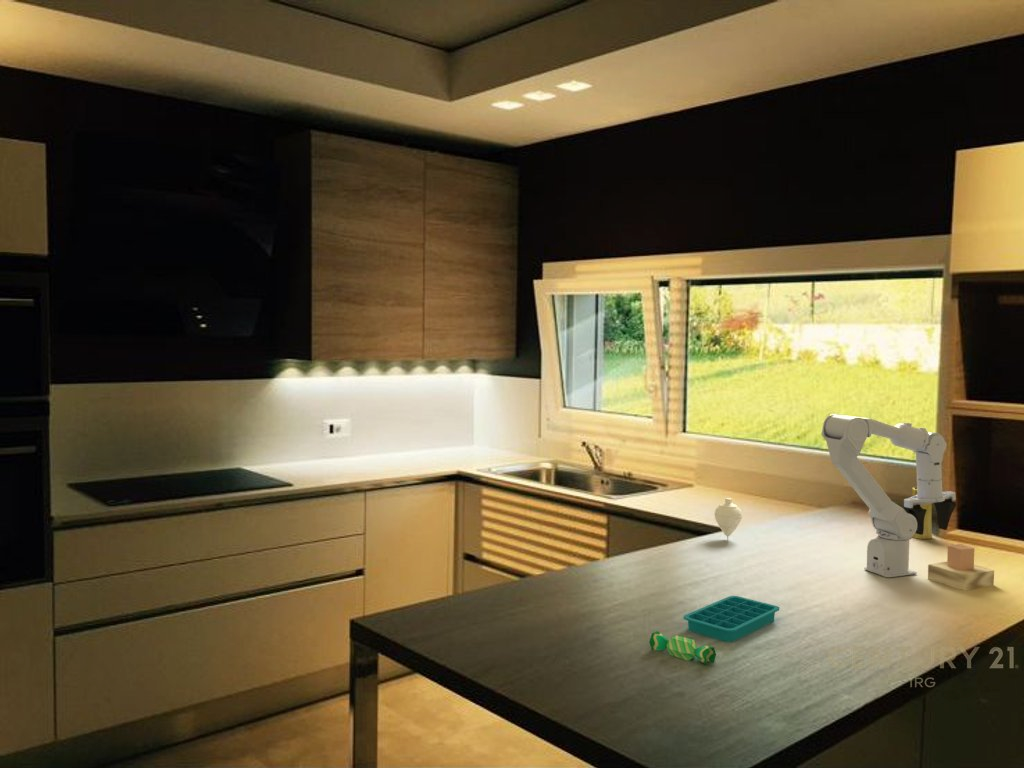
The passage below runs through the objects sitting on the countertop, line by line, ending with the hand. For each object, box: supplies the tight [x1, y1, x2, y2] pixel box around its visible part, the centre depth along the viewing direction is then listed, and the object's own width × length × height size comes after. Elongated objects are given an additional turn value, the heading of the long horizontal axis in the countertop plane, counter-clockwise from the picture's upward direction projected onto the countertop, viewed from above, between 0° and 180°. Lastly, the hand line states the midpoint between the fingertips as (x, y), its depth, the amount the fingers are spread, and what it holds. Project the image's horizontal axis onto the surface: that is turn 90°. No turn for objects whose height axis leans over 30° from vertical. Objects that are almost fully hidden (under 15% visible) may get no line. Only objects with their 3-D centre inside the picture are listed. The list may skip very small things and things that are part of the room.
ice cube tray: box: [683, 595, 780, 643], centre depth 176 cm, size 12×20×3 cm, turn 135°
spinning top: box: [714, 497, 743, 540], centre depth 246 cm, size 8×8×12 cm
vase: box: [911, 486, 933, 540], centre depth 249 cm, size 6×6×14 cm
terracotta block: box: [946, 543, 975, 570], centre depth 206 cm, size 4×4×5 cm
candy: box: [649, 631, 717, 667], centre depth 160 cm, size 12×3×4 cm
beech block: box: [927, 561, 995, 591], centre depth 206 cm, size 10×10×4 cm
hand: (930, 531), depth 217 cm, fingers open, 7 cm apart
